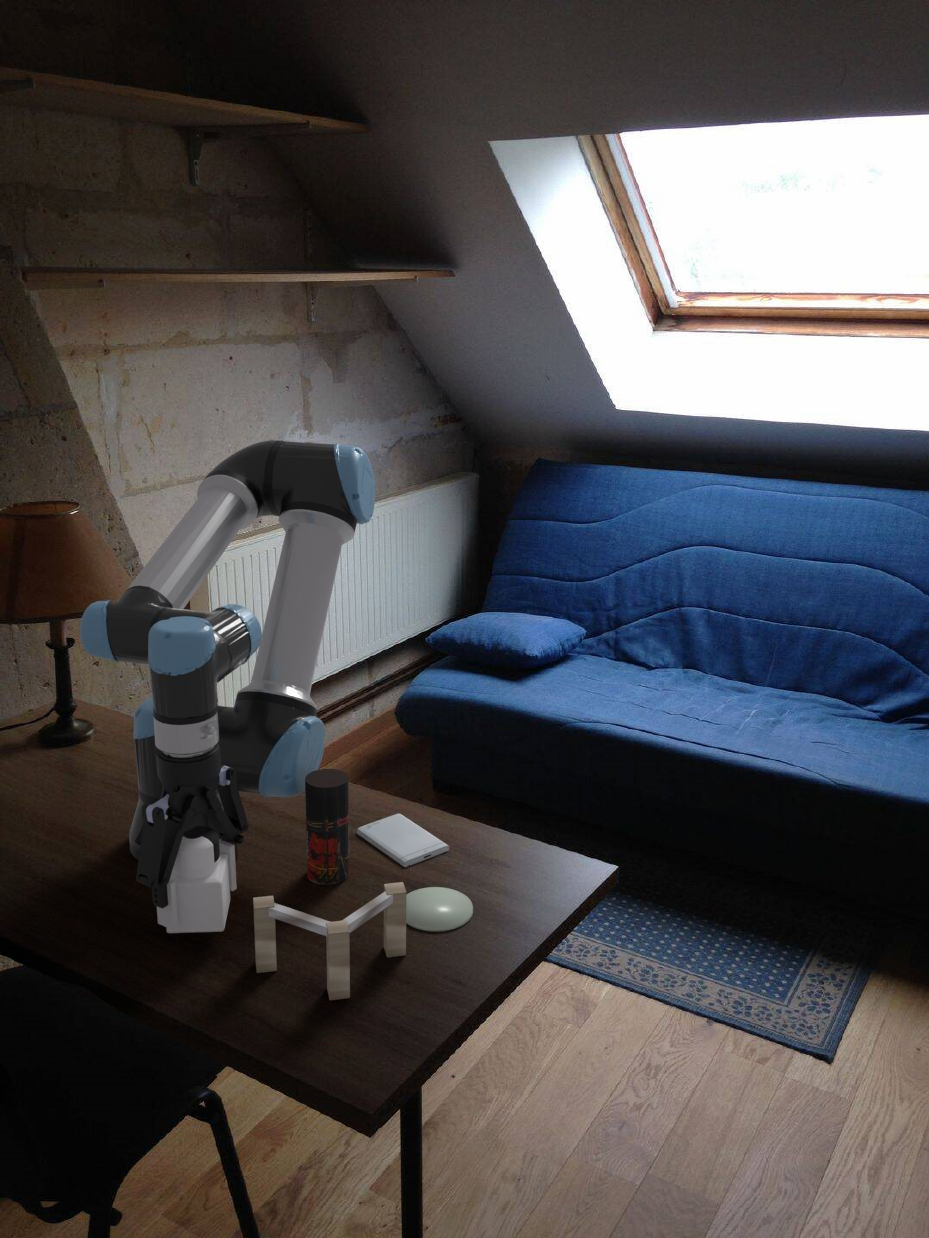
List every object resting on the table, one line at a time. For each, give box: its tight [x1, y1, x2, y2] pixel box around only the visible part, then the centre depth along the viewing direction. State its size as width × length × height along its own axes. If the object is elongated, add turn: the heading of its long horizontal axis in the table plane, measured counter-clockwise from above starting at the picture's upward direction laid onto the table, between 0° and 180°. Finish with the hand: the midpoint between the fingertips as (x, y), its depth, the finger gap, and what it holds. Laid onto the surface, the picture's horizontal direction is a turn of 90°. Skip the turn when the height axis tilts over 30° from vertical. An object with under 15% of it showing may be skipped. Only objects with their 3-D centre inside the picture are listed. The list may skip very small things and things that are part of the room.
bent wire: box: [252, 881, 407, 1001], centre depth 132 cm, size 9×18×9 cm, turn 103°
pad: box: [406, 886, 474, 933], centre depth 147 cm, size 10×10×1 cm
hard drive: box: [356, 813, 450, 868], centre depth 165 cm, size 2×8×12 cm
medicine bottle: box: [165, 826, 231, 934], centre depth 138 cm, size 7×7×12 cm
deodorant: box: [304, 768, 350, 886], centre depth 153 cm, size 6×6×15 cm
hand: (198, 905), depth 139 cm, fingers closed on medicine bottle, 10 cm apart
